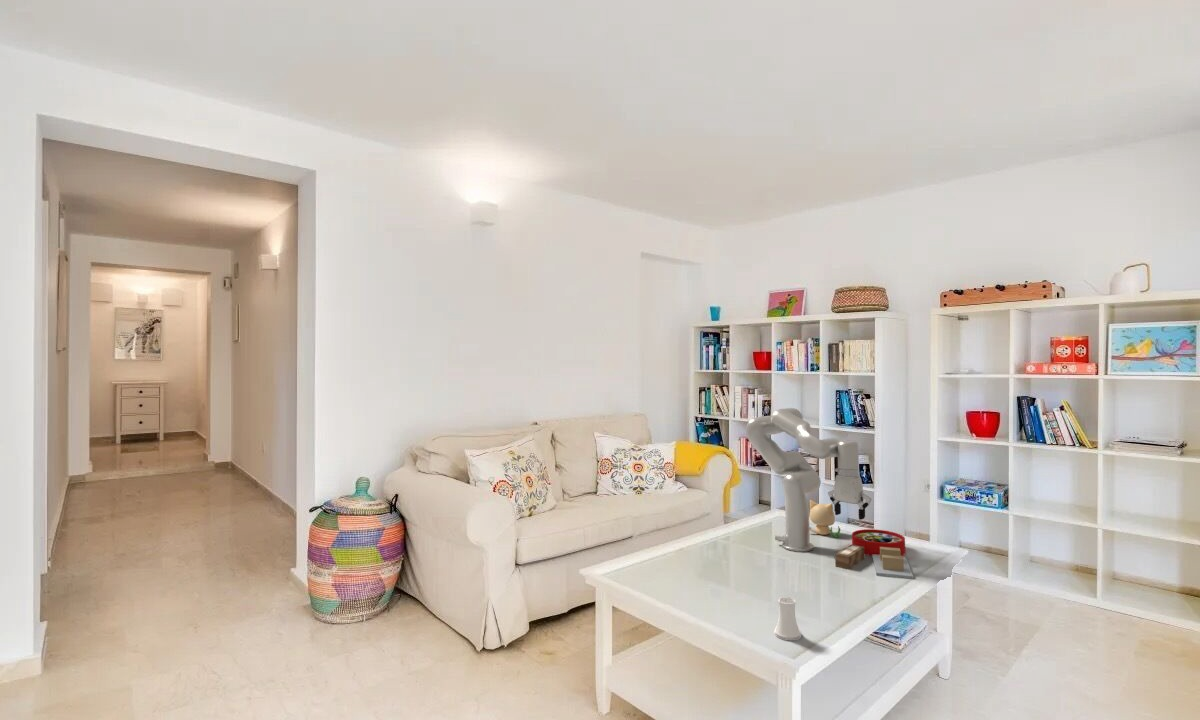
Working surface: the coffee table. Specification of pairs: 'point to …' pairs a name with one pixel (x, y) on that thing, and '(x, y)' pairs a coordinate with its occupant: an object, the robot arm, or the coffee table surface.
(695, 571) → the coffee table surface
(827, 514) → the kitten
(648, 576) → the coffee table surface
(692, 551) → the coffee table surface
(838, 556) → the wooden block
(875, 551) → the toy clock
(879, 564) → the wall board
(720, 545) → the coffee table surface
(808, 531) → the robot arm
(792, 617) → the white flared vase
